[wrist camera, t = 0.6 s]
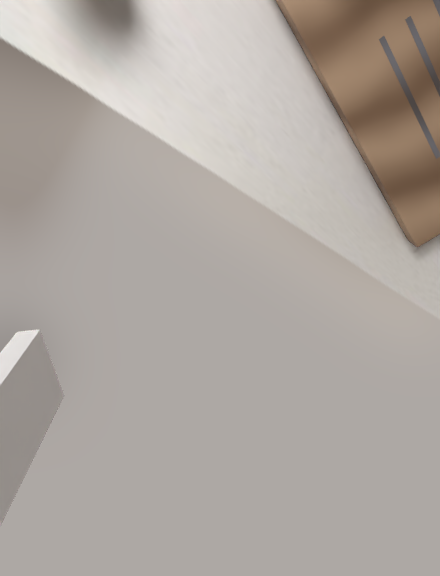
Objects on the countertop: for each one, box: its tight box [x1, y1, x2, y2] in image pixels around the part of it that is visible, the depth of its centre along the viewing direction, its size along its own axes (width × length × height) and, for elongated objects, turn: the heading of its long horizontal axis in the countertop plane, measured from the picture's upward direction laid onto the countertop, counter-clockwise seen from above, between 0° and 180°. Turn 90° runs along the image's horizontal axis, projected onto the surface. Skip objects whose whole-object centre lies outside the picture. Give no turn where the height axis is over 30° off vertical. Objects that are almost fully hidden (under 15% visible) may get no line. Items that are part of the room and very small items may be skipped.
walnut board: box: [276, 0, 440, 247], centre depth 31 cm, size 24×13×2 cm, turn 36°
